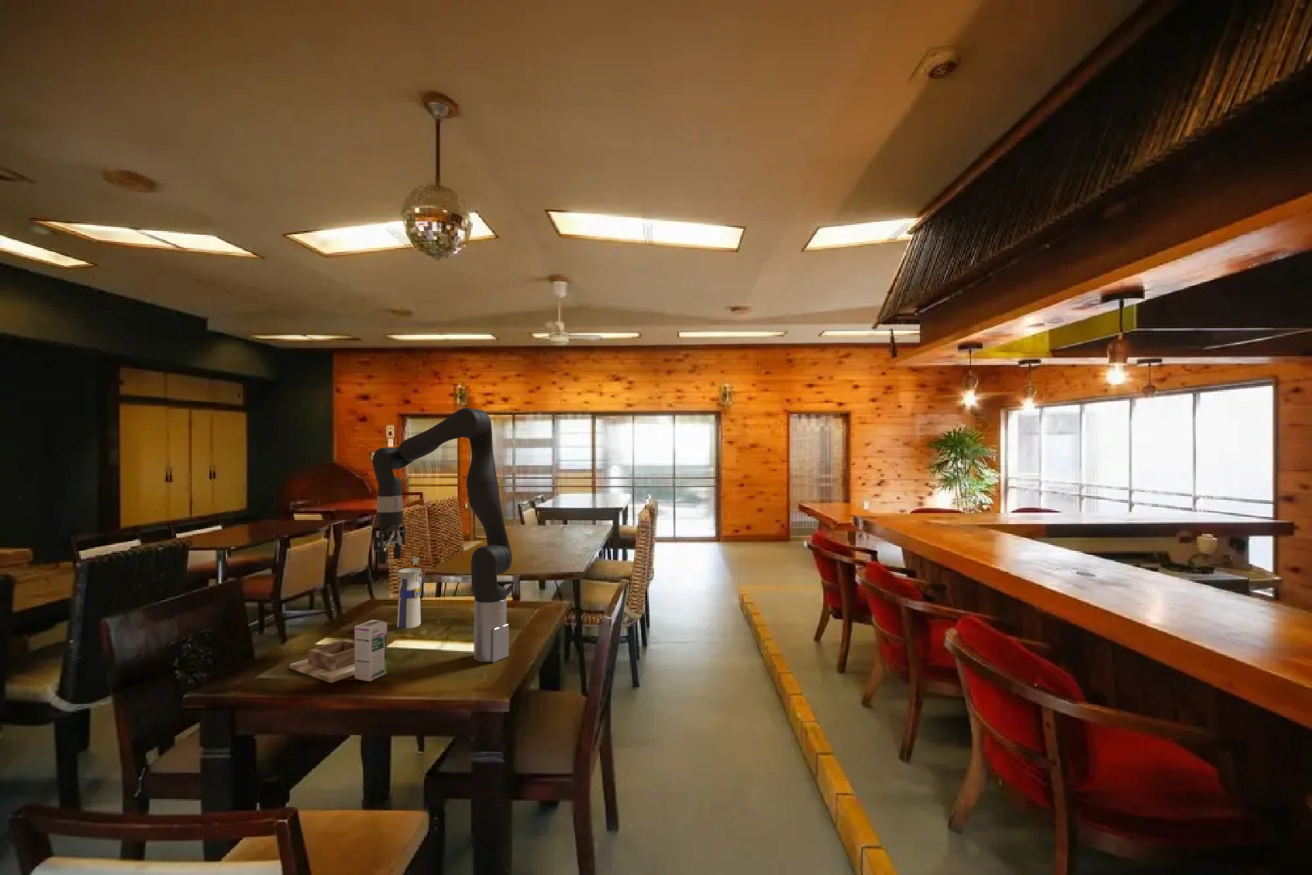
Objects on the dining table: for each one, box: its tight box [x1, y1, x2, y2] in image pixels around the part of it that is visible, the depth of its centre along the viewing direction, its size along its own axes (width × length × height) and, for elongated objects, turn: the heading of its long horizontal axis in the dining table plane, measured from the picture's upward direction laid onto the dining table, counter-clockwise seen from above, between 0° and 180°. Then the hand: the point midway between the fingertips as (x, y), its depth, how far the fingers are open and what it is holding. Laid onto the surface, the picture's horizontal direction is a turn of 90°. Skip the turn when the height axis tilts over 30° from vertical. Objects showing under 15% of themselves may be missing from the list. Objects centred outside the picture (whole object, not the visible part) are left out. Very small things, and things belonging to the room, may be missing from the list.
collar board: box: [289, 638, 355, 684], centre depth 163 cm, size 20×16×5 cm
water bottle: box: [396, 555, 423, 629], centre depth 201 cm, size 8×9×25 cm
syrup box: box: [354, 619, 388, 682], centre depth 155 cm, size 6×6×14 cm
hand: (390, 561), depth 182 cm, fingers open, 8 cm apart
